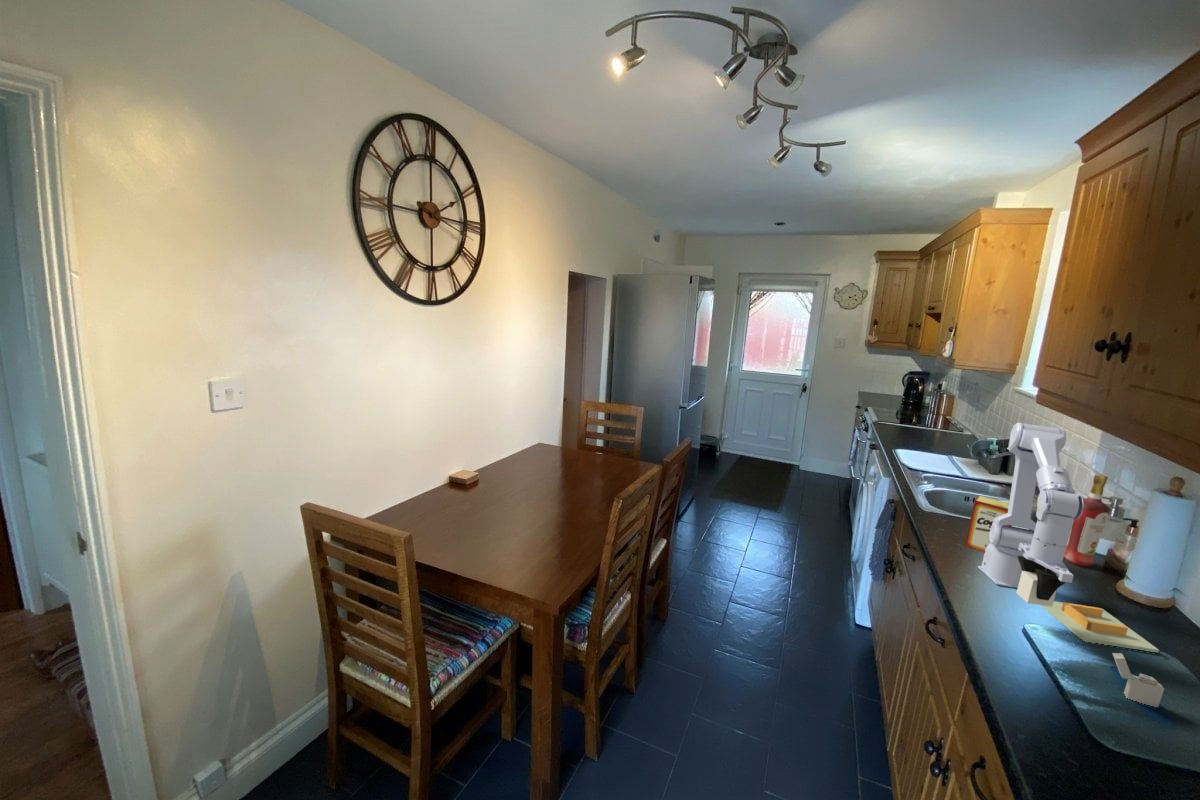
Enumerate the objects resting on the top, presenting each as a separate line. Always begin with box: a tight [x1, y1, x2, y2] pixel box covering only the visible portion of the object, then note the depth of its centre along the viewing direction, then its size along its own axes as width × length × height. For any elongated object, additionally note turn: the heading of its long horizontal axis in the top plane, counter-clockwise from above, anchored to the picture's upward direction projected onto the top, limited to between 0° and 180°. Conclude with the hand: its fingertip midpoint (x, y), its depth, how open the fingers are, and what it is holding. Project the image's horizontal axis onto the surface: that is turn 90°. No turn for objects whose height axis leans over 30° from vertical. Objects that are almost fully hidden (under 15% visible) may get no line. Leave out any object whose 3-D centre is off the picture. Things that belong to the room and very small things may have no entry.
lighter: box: [1111, 652, 1165, 708], centre depth 90 cm, size 7×2×8 cm, turn 56°
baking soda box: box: [964, 495, 1014, 553], centre depth 147 cm, size 10×6×16 cm
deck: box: [1040, 600, 1160, 653], centre depth 112 cm, size 15×14×3 cm
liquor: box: [1063, 473, 1112, 567], centre depth 141 cm, size 7×7×28 cm
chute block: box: [1016, 571, 1058, 607], centre depth 111 cm, size 4×5×6 cm
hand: (1035, 593), depth 111 cm, fingers closed on chute block, 4 cm apart
